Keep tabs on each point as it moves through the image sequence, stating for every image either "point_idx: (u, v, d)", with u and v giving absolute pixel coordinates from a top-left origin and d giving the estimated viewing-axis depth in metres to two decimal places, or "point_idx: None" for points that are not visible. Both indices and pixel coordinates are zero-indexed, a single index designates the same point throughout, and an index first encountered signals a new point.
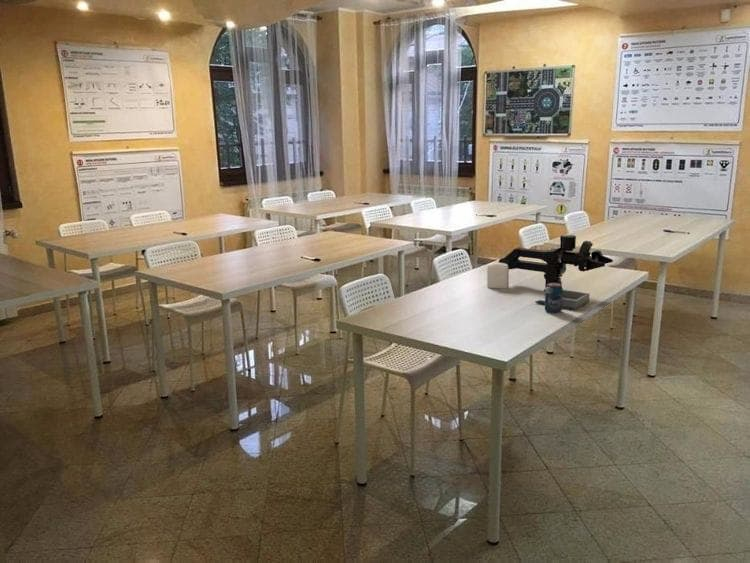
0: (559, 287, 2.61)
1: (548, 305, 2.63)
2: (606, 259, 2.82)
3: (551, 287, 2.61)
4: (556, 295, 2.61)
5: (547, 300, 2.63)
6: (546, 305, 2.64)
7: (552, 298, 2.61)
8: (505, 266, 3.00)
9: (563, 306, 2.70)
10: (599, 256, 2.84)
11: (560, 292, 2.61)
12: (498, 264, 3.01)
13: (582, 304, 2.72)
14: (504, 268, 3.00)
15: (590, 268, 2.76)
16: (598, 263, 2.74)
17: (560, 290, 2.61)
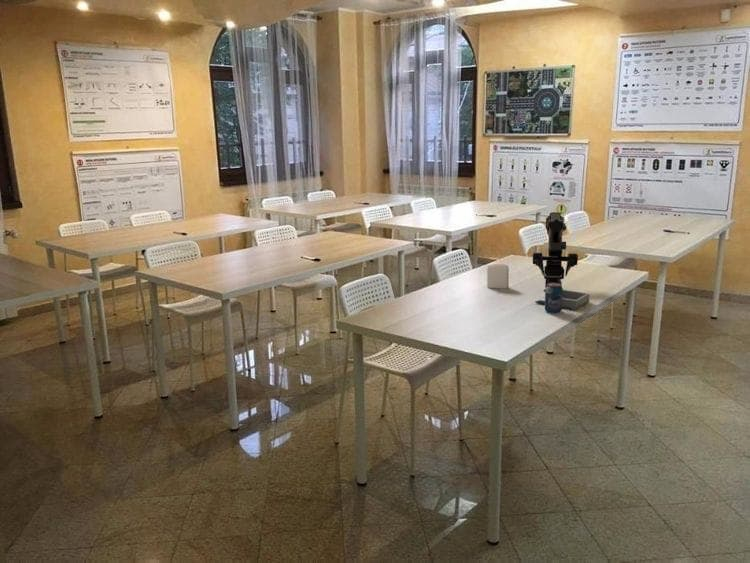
0: (559, 287, 2.61)
1: (548, 305, 2.63)
2: None
3: (551, 287, 2.61)
4: (556, 295, 2.61)
5: (547, 300, 2.63)
6: (546, 305, 2.64)
7: (552, 298, 2.61)
8: (505, 266, 3.00)
9: (563, 306, 2.70)
10: (567, 262, 2.71)
11: (560, 292, 2.61)
12: (498, 264, 3.01)
13: (582, 304, 2.72)
14: (504, 268, 3.00)
15: (539, 266, 2.76)
16: (541, 269, 2.72)
17: (560, 290, 2.61)
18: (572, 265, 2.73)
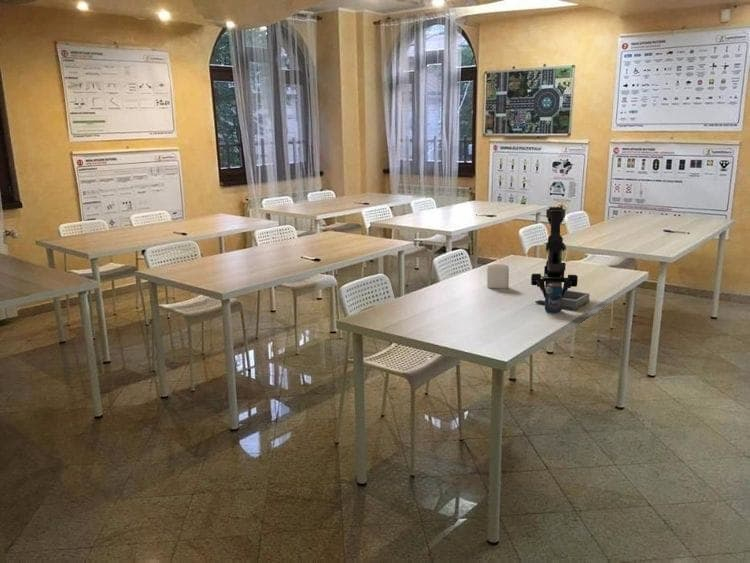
0: (559, 287, 2.61)
1: (548, 304, 2.63)
2: None
3: (551, 287, 2.61)
4: (556, 295, 2.61)
5: (547, 300, 2.63)
6: (546, 305, 2.64)
7: (552, 298, 2.61)
8: (505, 266, 3.00)
9: (563, 306, 2.70)
10: None
11: (560, 292, 2.61)
12: (498, 264, 3.01)
13: (582, 304, 2.72)
14: (504, 268, 3.00)
15: (540, 287, 2.69)
16: (542, 291, 2.65)
17: (560, 290, 2.61)
18: (569, 286, 2.66)
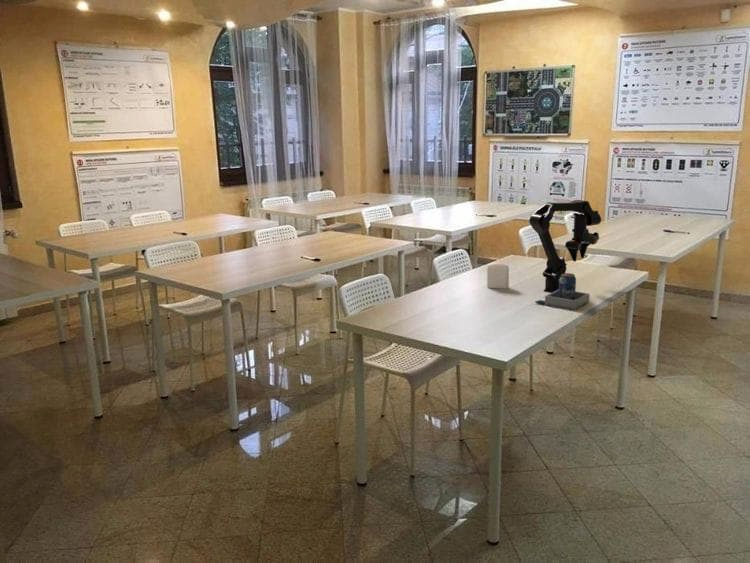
0: (573, 277, 2.71)
1: (561, 294, 2.73)
2: (583, 252, 3.03)
3: (565, 277, 2.71)
4: (570, 286, 2.71)
5: (561, 290, 2.73)
6: (560, 295, 2.74)
7: (566, 288, 2.72)
8: (505, 266, 3.00)
9: (563, 306, 2.70)
10: (585, 245, 3.02)
11: (574, 282, 2.71)
12: (498, 264, 3.01)
13: (582, 304, 2.72)
14: (504, 268, 3.00)
15: (569, 250, 2.95)
16: (575, 256, 2.95)
17: (574, 280, 2.71)
18: None
